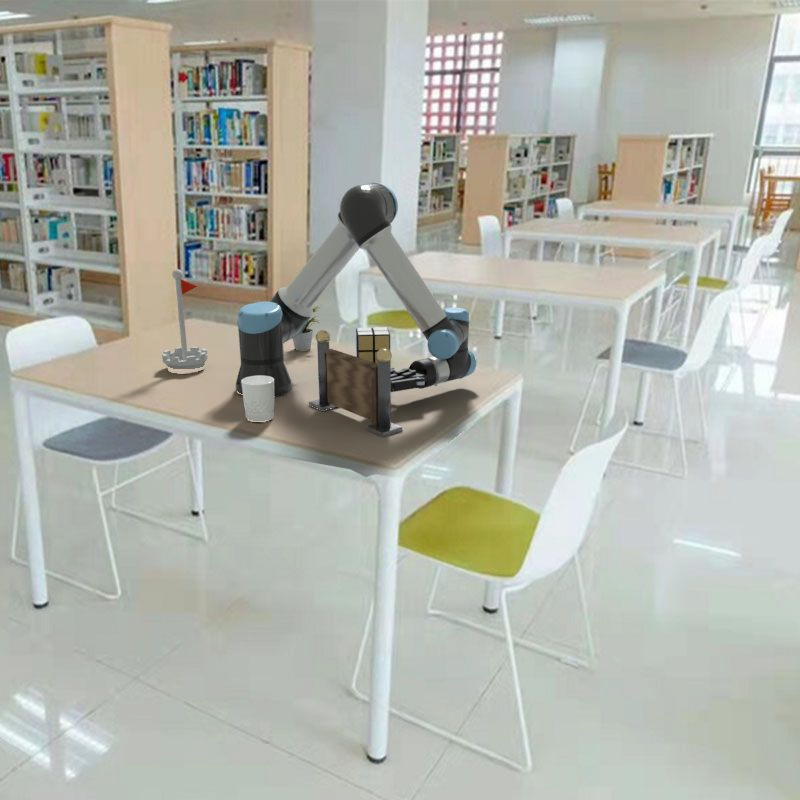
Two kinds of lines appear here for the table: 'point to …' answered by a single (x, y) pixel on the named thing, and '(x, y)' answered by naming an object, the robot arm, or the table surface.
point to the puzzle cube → (371, 342)
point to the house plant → (305, 335)
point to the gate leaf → (352, 384)
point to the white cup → (258, 397)
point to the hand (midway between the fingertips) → (358, 390)
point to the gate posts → (383, 387)
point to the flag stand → (183, 335)
